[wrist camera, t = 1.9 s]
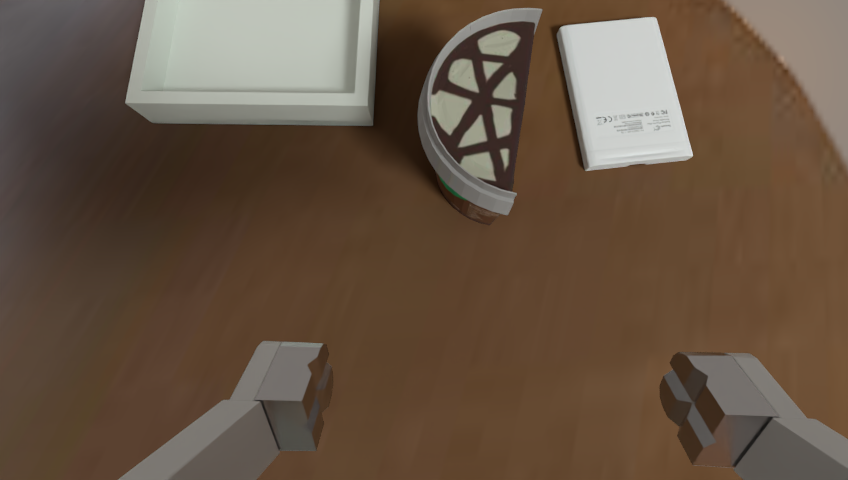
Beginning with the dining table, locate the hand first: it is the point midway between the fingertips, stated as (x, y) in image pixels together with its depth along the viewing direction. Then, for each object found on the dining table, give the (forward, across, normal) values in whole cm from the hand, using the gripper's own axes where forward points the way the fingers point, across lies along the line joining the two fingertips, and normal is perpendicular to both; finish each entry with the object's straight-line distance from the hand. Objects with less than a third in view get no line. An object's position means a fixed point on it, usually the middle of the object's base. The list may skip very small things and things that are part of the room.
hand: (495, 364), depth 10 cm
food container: (+24, 0, +4) cm, 24 cm away
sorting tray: (+34, +16, -7) cm, 38 cm away
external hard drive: (+28, -13, +1) cm, 31 cm away
